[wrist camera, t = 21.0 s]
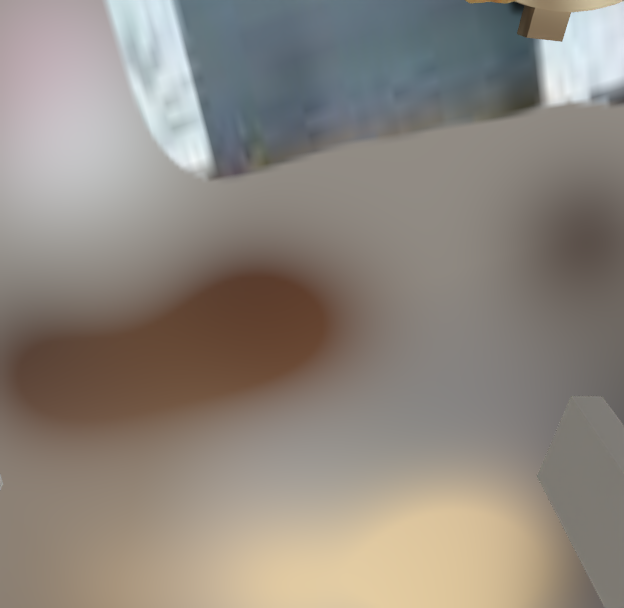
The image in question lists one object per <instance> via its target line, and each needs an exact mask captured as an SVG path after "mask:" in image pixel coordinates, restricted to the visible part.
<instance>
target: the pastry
mask: <svg viewBox="0 0 624 608" xmlns="http://www.w3.org/2000/svg"><path fill="white" fill-rule="evenodd" d="M465 1H467V2H469V3H484V2H496V3H510V2H513V1H517V0H465Z"/></svg>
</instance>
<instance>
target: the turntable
mask: <svg viewBox="0 0 624 608" xmlns="http://www.w3.org/2000/svg"><path fill="white" fill-rule="evenodd" d="M622 1H624V0H517V1H514V2H517V3H519V4H522V5H524V9H523V13H522V17H521V20H520V24H519V28H518V32H517V34H518V35H521V36H524V37H527V38H536V39H545V40H554V41H562V40H563V37H564V33H565V30H566V27H567V24H568V21H569V17H570V14H571V12H579V11H588V10H595V9H599V8H603V7H607V6H611V5H615V4H617V3H620V2H622Z"/></svg>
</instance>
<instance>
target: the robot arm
mask: <svg viewBox="0 0 624 608" xmlns="http://www.w3.org/2000/svg"><path fill="white" fill-rule="evenodd" d="M537 477H538V479H539V481H540V483H541V485H542V487H543V489H544V491H545V493H546V495H547V497H548V499H549V501H550V503H551V505H552V507H553V508H554V510H555V512H556V514H557V516H558V518H559V520H560V522H561V524H562V526H563V528H564V530H565V532H566V534H567V536H568V538H569V540H570V542H571V543H572V545H573V547H574V549H575V551H576V553H577V555H578V557H579V559H580V561H581V563H582V565H583V567H584V569H585V571H586V573H587V575H588V576H589V578H590V580H591V582H592V584H593V586H594V588H595V590H596V592H597V594H598V596H599V598H600V600H601V602H602V604H603V605H604V608H624V425H623V424H622V423H621V421H620V420H619V419H618V417H617V416H616V415H615V413H614V412H613V410H612V409H611V408H610V407H609V405H608V404H607V402H606V401H605V400H604V398H603V397H602V396H571V398H570V400H569V402H568V405H567V407H566V409H565V412H564V414H563V416H562V419H561V421H560V423H559V426H558V428H557V430H556V433H555V435H554V437H553V440H552V442H551V445H550V447H549V449H548V451H547V454H546V456H545V459H544V461H543V463H542V465H541V468H540V470H539V473H538V475H537ZM2 485H3V481H2V478H1V475H0V490H1V487H2Z"/></svg>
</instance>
